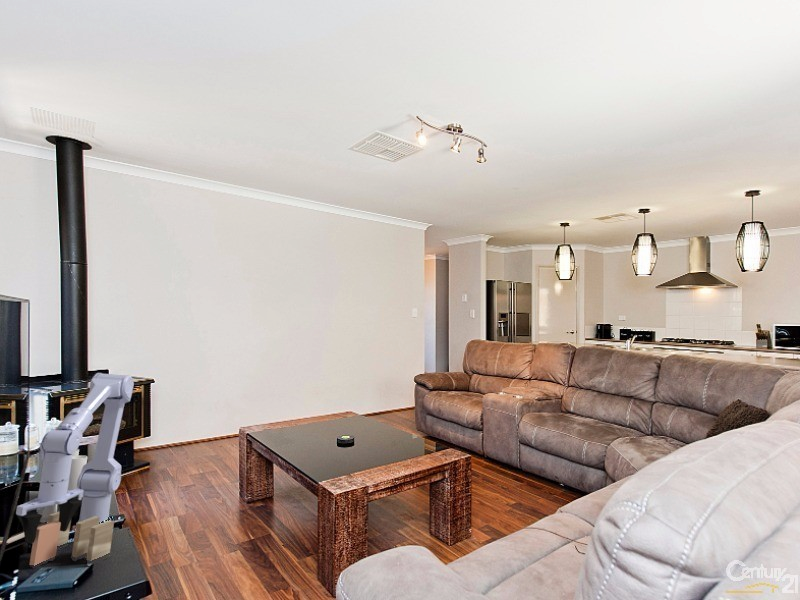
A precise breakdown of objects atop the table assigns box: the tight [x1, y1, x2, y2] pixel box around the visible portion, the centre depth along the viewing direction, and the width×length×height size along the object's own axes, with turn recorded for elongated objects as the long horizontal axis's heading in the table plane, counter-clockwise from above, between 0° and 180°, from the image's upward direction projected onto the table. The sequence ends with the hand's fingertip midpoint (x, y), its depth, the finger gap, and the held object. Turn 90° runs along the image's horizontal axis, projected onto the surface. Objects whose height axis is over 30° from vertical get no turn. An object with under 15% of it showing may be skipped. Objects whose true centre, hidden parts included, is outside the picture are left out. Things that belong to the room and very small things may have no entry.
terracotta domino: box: [29, 521, 61, 566], centre depth 110 cm, size 2×5×9 cm, turn 162°
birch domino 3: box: [86, 519, 115, 561], centre depth 113 cm, size 2×5×9 cm, turn 162°
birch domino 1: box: [47, 511, 72, 546], centre depth 118 cm, size 2×5×9 cm, turn 162°
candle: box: [67, 448, 88, 501], centre depth 148 cm, size 11×7×20 cm, turn 120°
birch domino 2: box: [71, 516, 100, 558], centre depth 115 cm, size 2×5×9 cm, turn 162°
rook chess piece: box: [39, 504, 58, 524], centre depth 133 cm, size 4×4×8 cm
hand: (46, 536), depth 110 cm, fingers open, 7 cm apart
